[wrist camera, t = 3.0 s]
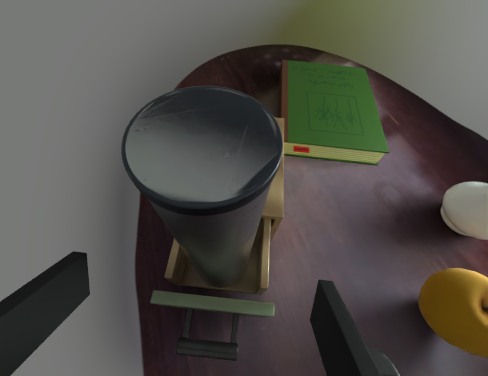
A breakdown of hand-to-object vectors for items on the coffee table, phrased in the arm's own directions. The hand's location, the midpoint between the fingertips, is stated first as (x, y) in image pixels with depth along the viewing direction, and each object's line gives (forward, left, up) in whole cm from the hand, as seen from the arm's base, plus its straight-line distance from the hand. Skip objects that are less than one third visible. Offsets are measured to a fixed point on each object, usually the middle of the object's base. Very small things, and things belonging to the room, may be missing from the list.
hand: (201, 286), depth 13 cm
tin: (-2, +5, -17) cm, 18 cm away
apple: (+26, +13, -20) cm, 35 cm away
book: (+1, +41, -20) cm, 46 cm away
